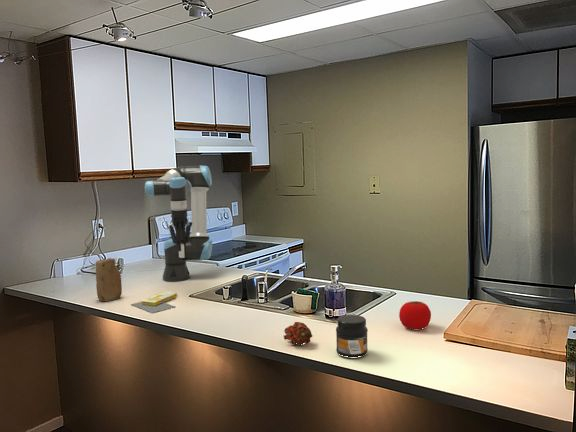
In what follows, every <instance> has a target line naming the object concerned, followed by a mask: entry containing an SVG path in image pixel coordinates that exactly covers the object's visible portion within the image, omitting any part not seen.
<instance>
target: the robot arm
mask: <svg viewBox="0 0 576 432" xmlns="http://www.w3.org/2000/svg"><path fill="white" fill-rule="evenodd" d="M212 180H213V179H212V173H211V170H210V167H209V166H207V165H185V166H184V165H183V166H178V167H175V168H174V167H173V168H172V169H169V170H168V171H166V172H165V174H164V175H163V176H161V177H159V178H158V179H155V180H147V181H146V182H145V183H144V192H145V195H146V196H147V197H148V196H149V197H159V196H160V197H161V196H170V197H169V198H170V210H171V212H170V213H171V215H170V216H171V222H170V224H167V226H166V227H167V228H168V230H169V234H170V236H171V238H169V239H166V240H165V241H164V244H163V245H164V247H163V251H164V265H165V266H164V270H163V272H162V273H163V274H162V280H163V281H164V282H182V281H186V280H189V279H190V278H191V275H190V271H189V268H188V266H187V261H207V260H209V259H210V258H211V256H212V251H213V239H211V238H210V236H209V234H208V231H207V230H208V229H207V225H208V224H207V192H208V191H209V190H210V187H211V186H212V185H213V181H212ZM188 194H191V195H190V199H191V200H190V202H191V203H190V204H191V207H190V208H191V209H190V213H191V214H190V215H191V216H190V217H191V220H190V221H189V219H188V210H187V208H188V206H187V195H188Z"/></svg>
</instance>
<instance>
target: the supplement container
mask: <svg viewBox="0 0 576 432" xmlns="http://www.w3.org/2000/svg"><path fill="white" fill-rule="evenodd" d="M336 321H337V323H336V324H337V326H336V327H335V333H336V334H335V335H336V341H335V342H336V350H335V351H336V352H337V354H338V355H339V354H340V355H343V356H348V357H358V356H363V355H365V354H366V353H367V354H368V352H369V351H368V332H369V331H368V330H369V329H368V327H367V318H365V317H364V316H362V315H357V314H344V315H340V316H339V317H338V318H337V319H336ZM367 354H366V355H367ZM340 355H339V356H340ZM366 355H365V356H366ZM363 357H364V356H363Z"/></svg>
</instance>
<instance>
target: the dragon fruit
mask: <svg viewBox="0 0 576 432" xmlns="http://www.w3.org/2000/svg"><path fill="white" fill-rule="evenodd" d="M283 332H284V334H283V339H284V340H285V341H286V340H288V341H290V343H291V345H292V344H295V345H298V344H300V345H299V346H302V345H301V344H303V343H305V344H309V343H310V342H311V338H313V334H312V331H311V329H310V328H309V327H308V326H307V325H306V324H305V323H304V322H300V321H294V323H293V324H291V325H288V326H287V327H285V329H284V330H283ZM296 343H297V344H296Z"/></svg>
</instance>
